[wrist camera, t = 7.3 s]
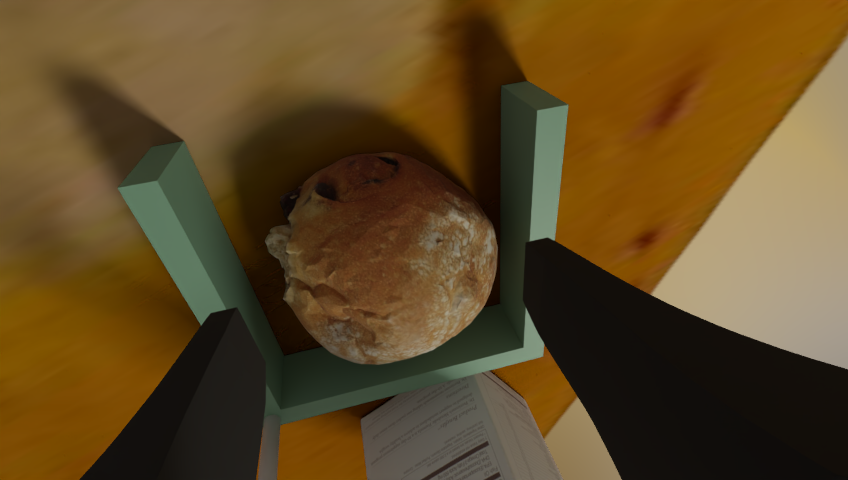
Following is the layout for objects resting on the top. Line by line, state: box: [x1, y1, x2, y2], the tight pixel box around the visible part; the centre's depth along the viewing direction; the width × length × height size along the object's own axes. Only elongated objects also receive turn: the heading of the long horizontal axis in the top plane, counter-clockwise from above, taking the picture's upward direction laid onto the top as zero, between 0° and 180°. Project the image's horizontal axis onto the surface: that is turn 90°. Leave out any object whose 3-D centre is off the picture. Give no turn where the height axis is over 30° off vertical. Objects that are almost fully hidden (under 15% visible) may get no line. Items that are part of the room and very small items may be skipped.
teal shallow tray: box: [118, 81, 568, 480], centre depth 16 cm, size 15×14×12 cm
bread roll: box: [265, 152, 498, 365], centre depth 19 cm, size 10×10×8 cm
